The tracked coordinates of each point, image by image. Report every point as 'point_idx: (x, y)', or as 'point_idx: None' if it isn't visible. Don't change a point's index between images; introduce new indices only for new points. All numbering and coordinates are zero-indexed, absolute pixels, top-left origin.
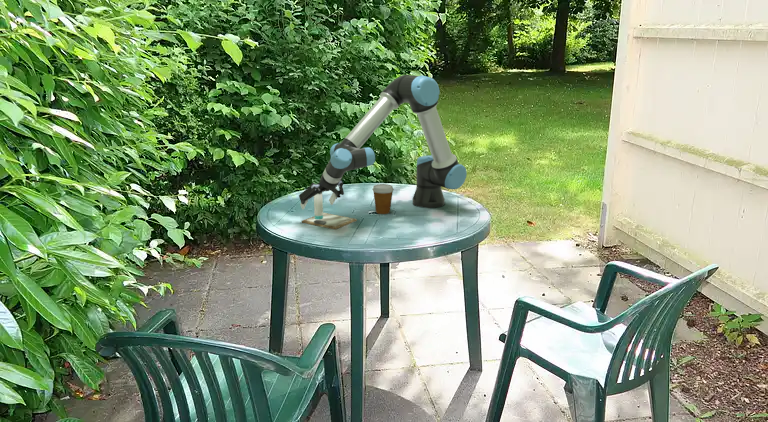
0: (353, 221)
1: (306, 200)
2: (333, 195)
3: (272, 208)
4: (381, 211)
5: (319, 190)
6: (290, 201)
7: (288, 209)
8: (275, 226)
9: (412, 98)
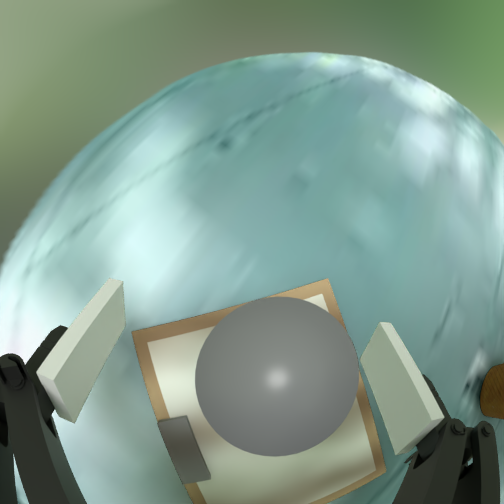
0: (359, 484)
1: (52, 422)
2: (406, 416)
3: (192, 85)
4: (489, 413)
5: (261, 453)
6: (293, 73)
7: (230, 118)
8: (22, 288)
9: None
